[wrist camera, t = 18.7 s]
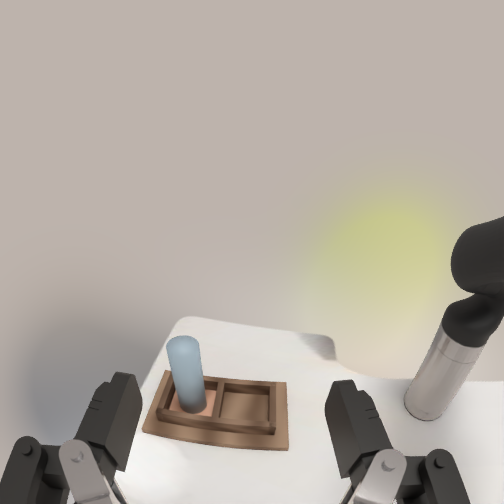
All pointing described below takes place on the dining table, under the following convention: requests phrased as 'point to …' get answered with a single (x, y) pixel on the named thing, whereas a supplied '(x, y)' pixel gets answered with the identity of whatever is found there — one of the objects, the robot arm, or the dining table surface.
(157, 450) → the dining table surface
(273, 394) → the slot rack
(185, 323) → the dining table surface
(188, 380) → the slate peg
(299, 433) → the dining table surface
